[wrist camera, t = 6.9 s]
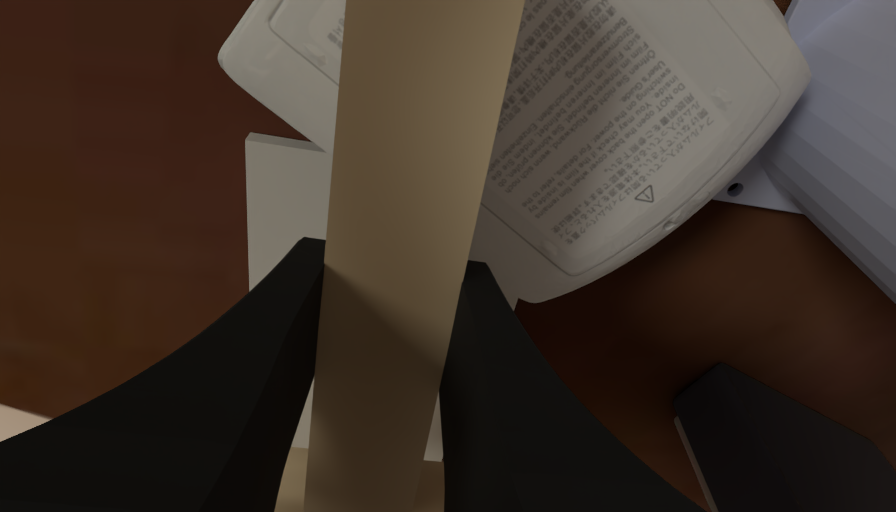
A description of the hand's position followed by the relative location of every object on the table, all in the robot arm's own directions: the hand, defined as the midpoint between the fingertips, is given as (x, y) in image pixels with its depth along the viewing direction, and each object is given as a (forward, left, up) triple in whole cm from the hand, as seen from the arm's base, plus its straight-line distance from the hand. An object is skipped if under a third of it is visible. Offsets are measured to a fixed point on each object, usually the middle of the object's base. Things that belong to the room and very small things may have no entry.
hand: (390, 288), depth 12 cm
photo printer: (+3, -7, -6) cm, 9 cm away
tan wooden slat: (0, +1, -3) cm, 3 cm away
